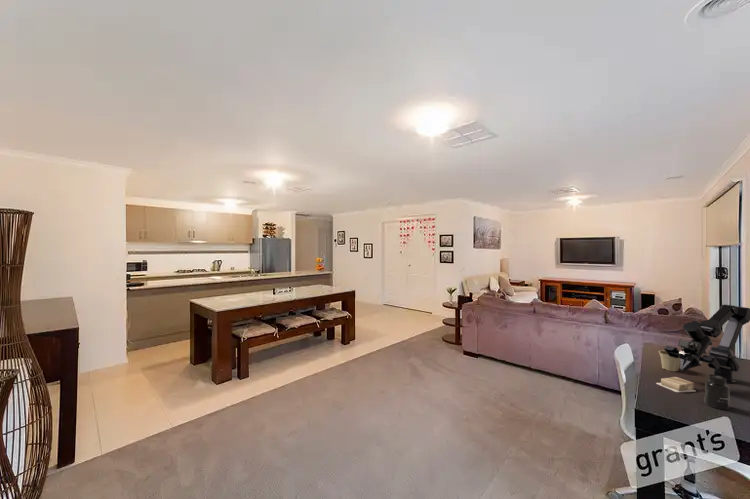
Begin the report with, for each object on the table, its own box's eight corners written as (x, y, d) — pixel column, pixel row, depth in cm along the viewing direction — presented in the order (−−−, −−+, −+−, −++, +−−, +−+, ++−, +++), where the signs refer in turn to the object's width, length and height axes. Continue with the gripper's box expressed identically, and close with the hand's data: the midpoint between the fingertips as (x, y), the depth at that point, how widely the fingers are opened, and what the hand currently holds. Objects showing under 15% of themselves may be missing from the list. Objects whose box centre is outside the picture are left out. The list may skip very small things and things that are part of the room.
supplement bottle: (725, 411, 123) (726, 381, 123) (701, 404, 129) (702, 375, 129) (731, 408, 126) (732, 378, 126) (708, 400, 132) (708, 372, 132)
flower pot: (687, 373, 162) (687, 357, 162) (666, 372, 164) (666, 355, 164) (673, 367, 171) (674, 351, 171) (653, 365, 173) (654, 350, 173)
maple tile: (675, 376, 150) (660, 378, 147) (693, 382, 143) (679, 385, 140) (675, 382, 150) (660, 384, 147) (693, 388, 143) (679, 391, 140)
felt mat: (674, 383, 150) (674, 382, 150) (695, 391, 141) (695, 390, 141) (656, 383, 149) (656, 382, 149) (676, 392, 140) (676, 391, 140)
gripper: (666, 329, 156) (650, 352, 153) (716, 339, 138) (699, 366, 135) (677, 343, 159) (661, 367, 155) (727, 356, 141) (710, 382, 138)
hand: (681, 370), depth 146 cm, fingers closed
